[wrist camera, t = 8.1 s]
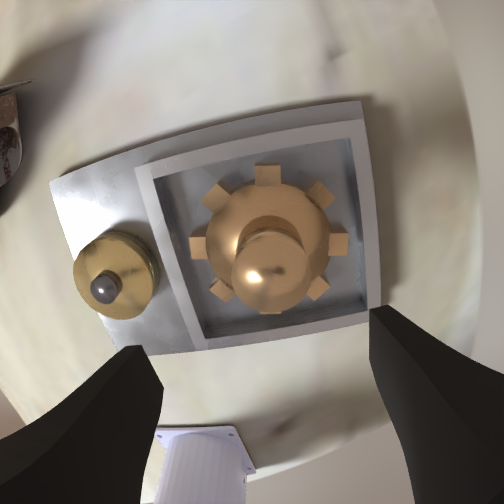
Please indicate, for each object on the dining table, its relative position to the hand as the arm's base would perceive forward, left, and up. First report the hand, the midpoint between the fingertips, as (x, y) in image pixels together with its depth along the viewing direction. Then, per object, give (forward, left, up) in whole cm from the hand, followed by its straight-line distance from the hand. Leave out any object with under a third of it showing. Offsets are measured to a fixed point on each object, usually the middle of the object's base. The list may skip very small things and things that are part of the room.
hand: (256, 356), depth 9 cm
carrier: (0, +2, -9) cm, 10 cm away
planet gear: (+1, -1, -8) cm, 8 cm away
